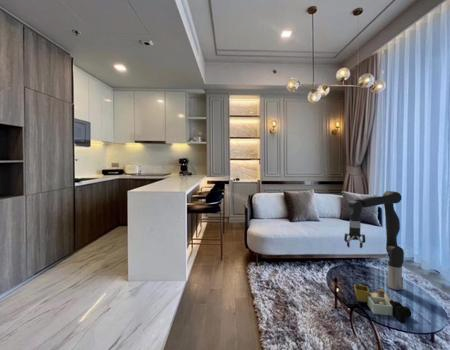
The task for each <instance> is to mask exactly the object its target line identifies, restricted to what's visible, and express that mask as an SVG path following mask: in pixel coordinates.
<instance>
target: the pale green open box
mask: <svg viewBox="0 0 450 350" xmlns="http://www.w3.org/2000/svg"><path fill="white" fill-rule="evenodd" d="M367 306H368V308H369V309H370V311H371V313H373V314H374V315H383V316H393V315H392V307H393V306H392V305H391V304H390V303H389V302H388V301H387V299H386V298H381V297H371V295H369V296H368V301H367Z"/></svg>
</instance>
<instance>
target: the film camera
mask: <svg viewBox="0 0 450 350" xmlns="http://www.w3.org/2000/svg"><path fill="white" fill-rule="evenodd" d="M389 303H390V304H391V305H392V306H393V307H392V316H393V317H394V318H395V319H396V321H398V322H399V323H400V324H406V322H407V318H410V317H411V316H412V310H411V308H410V307H409V306H406V305H402V304H401V302H399V301H394V300H392V299H391V300H390V301H389Z"/></svg>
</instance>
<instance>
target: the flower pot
mask: <svg viewBox="0 0 450 350" xmlns="http://www.w3.org/2000/svg"><path fill="white" fill-rule="evenodd" d="M353 286H354V293H355V297H356V300H357V301H358V302H362V303H368V296H370V294H369V292H370V289H369V286H367V285H359V284H353ZM370 293H371V292H370Z"/></svg>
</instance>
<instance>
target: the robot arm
mask: <svg viewBox="0 0 450 350" xmlns="http://www.w3.org/2000/svg"><path fill="white" fill-rule="evenodd" d="M402 197H403V196H402V195H401V193H399V192H397V191H392V190H390V191H389V190H386V191H385V192H384V193H383V194H382V195H381V196H370V197H366V198H358V199H357V198H356V199H351V200H349V202H348V204H347V206H348V208H349V209H352V212H350V213H349V227H348V229H349V230H348V231H349V233H344V242H346V246H347V248H351V247H350V246H351V245H350V244H351V241H352V240H353V241H358V242H359V248H360V249H362V248H363V247H364V245H363V244H364V243H366V235H365V234H364V233H362V234H361V227H362V226H361V216H362V211H363V208H370V207H375V206H380V205H383V207H384V215H385V230H386V231H385V234H386V243H385V244H386V246H385V250H386V253H387V254H388V255H390V259H389V260H387V282H386V283H387V287H388V288H389V289H392V290H394V291H395V290H396V291H401V290H402V291H403V289H404V276H403V264H404V261H405V252H404V249H403V248H402V247H401V246H399V244H398V241H397V240H398V239H397V238H398V235H399V232H400V230H401V222H400V218H399V216H398V214H397V213H396V211H395V208H394V207H395V206H394V204H399V203H400V202H401V201H402ZM348 237H349V238H348ZM361 238H362V239H361Z"/></svg>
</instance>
